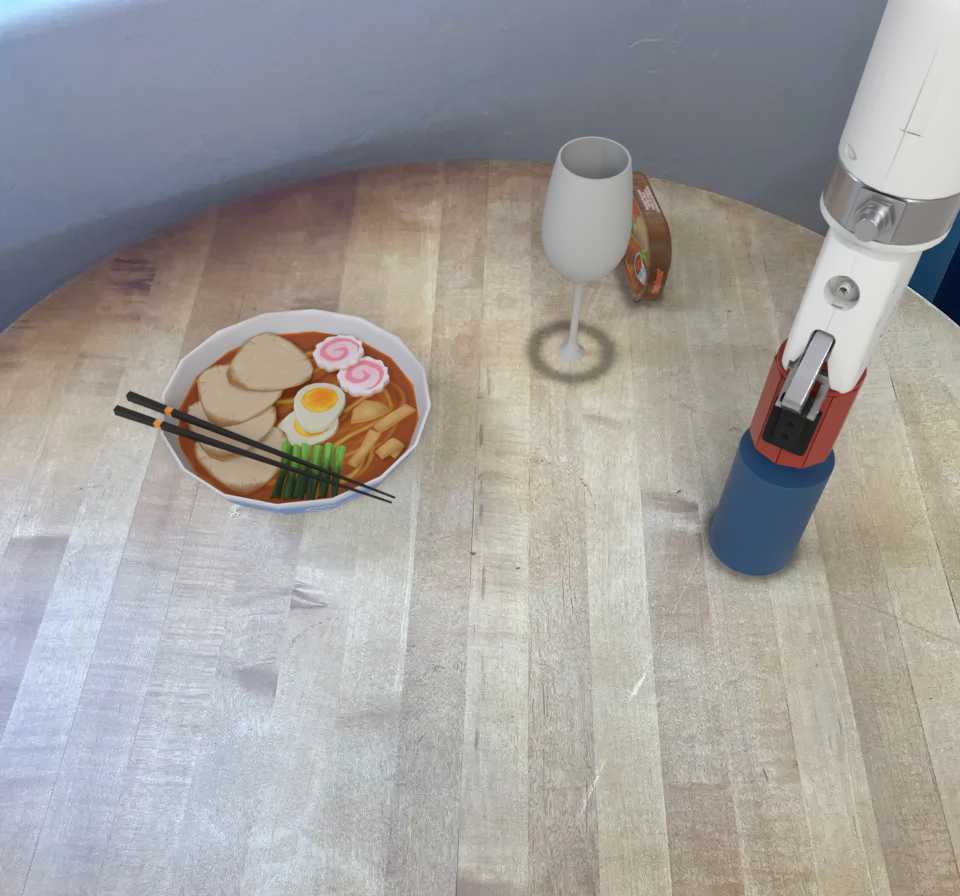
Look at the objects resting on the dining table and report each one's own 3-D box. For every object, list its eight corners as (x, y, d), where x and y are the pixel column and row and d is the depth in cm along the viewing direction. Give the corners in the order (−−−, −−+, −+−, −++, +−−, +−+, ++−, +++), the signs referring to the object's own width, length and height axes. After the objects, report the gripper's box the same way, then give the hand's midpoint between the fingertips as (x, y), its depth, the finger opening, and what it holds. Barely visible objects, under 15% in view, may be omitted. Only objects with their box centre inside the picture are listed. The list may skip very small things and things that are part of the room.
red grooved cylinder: (844, 426, 74) (880, 350, 68) (814, 480, 72) (848, 406, 65) (770, 395, 76) (798, 317, 70) (737, 447, 73) (763, 371, 67)
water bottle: (803, 536, 86) (878, 380, 71) (771, 595, 83) (842, 445, 67) (727, 502, 88) (783, 342, 72) (692, 558, 85) (744, 404, 69)
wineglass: (521, 375, 96) (535, 175, 78) (544, 324, 100) (562, 122, 82) (597, 394, 95) (628, 196, 77) (617, 342, 98) (652, 141, 80)
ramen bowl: (485, 419, 93) (487, 351, 86) (370, 603, 82) (361, 544, 75) (255, 338, 98) (239, 268, 91) (117, 502, 87) (87, 437, 80)
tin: (598, 225, 108) (608, 153, 101) (626, 223, 108) (638, 150, 101) (634, 319, 100) (648, 248, 93) (664, 316, 100) (680, 244, 93)
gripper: (908, 300, 52) (805, 517, 67) (1002, 135, 59) (891, 363, 75) (773, 249, 54) (704, 471, 69) (881, 96, 61) (797, 326, 77)
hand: (802, 413), depth 72 cm, fingers closed on red grooved cylinder, 6 cm apart
